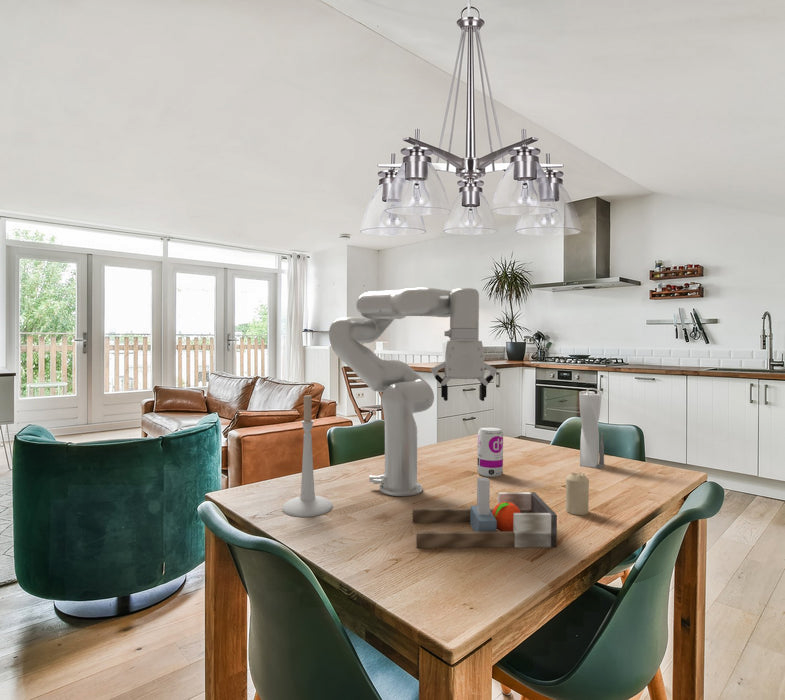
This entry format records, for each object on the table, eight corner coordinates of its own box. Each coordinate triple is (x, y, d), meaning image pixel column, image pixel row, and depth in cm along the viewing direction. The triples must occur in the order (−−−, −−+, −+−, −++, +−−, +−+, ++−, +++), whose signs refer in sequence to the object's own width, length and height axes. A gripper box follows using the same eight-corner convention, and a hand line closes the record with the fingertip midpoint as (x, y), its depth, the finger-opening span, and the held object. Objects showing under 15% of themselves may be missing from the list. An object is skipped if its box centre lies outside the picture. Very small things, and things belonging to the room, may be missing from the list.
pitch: (416, 547, 105) (416, 515, 105) (412, 520, 120) (412, 492, 120) (556, 547, 105) (556, 514, 105) (534, 520, 121) (534, 492, 121)
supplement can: (507, 476, 160) (508, 430, 159) (485, 478, 157) (486, 431, 156) (493, 469, 167) (494, 425, 167) (472, 472, 164) (473, 427, 164)
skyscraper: (600, 470, 168) (601, 389, 167) (575, 467, 172) (577, 387, 172) (604, 465, 175) (605, 386, 174) (580, 462, 179) (581, 385, 179)
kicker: (478, 540, 108) (478, 485, 107) (470, 523, 118) (470, 473, 117) (496, 540, 108) (497, 485, 108) (486, 523, 118) (487, 473, 118)
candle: (582, 507, 130) (583, 470, 130) (592, 515, 125) (592, 476, 124) (562, 507, 130) (562, 470, 130) (570, 515, 124) (571, 476, 124)
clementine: (508, 542, 108) (508, 510, 107) (482, 533, 113) (482, 502, 113) (528, 533, 113) (528, 502, 113) (502, 524, 118) (503, 495, 118)
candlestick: (279, 503, 133) (279, 392, 132) (326, 497, 137) (326, 390, 137) (286, 519, 121) (286, 397, 120) (337, 513, 125) (337, 395, 125)
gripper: (432, 335, 126) (432, 402, 126) (500, 335, 126) (499, 402, 126) (430, 335, 133) (429, 398, 134) (493, 335, 134) (493, 398, 134)
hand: (463, 400), depth 130 cm, fingers open, 9 cm apart
